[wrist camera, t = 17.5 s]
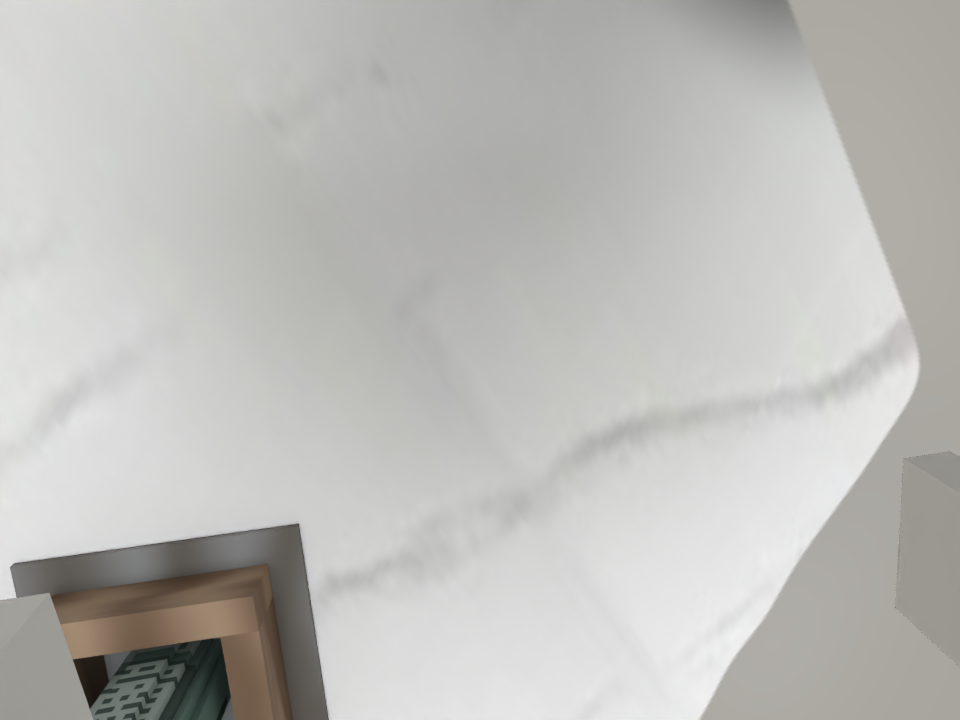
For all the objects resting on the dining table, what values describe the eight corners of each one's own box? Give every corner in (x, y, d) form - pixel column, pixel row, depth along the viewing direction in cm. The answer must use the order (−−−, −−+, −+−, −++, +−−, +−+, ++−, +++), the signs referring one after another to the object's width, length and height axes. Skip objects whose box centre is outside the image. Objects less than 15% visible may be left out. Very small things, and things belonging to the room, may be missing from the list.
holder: (298, 524, 41) (285, 554, 37) (335, 767, 43) (328, 823, 39) (14, 563, 40) (-35, 600, 35) (68, 813, 42) (29, 876, 38)
